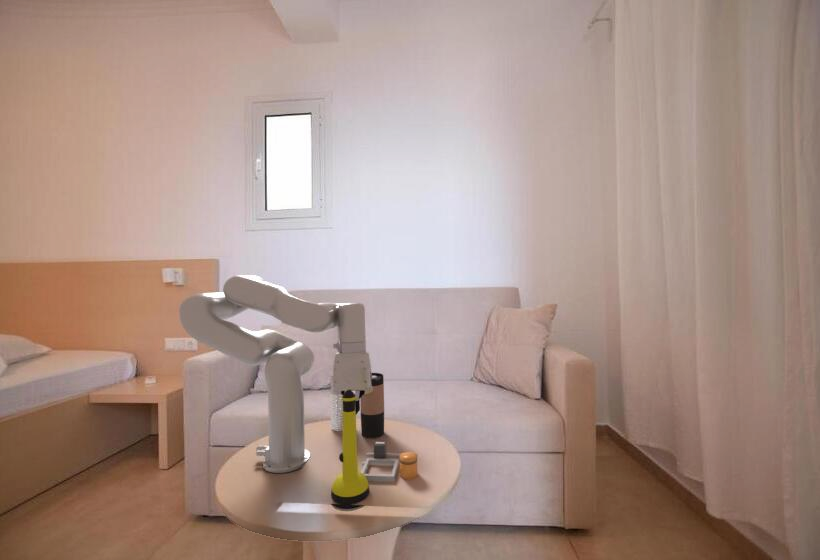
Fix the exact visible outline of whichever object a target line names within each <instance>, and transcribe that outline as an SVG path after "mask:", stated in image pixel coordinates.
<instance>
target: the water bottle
mask: <svg viewBox="0 0 820 560" xmlns="http://www.w3.org/2000/svg"><path fill="white" fill-rule="evenodd" d="M333 370H334V364H333V365H332V366H331V368H330V369H329V376H330V378H329V379H330V381H329V382H330V383H329V384H330V394H329V396H330V397H329V398H330V408H329V409H330V430H331V431H335V432H343V401H342V396H343V395H342V394H338V393H335V392H334V387H333Z"/></svg>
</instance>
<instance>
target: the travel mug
mask: <svg viewBox="0 0 820 560" xmlns="http://www.w3.org/2000/svg"><path fill="white" fill-rule="evenodd" d="M384 385H385V384H384V374H383V373H379V372H372V388H373V391H372V392H371V393H367V394H364V395H363V396H362V397H361V398H360V428H361V436H362V437H363V438H364V439H373V440H374V439H379V438H381V437H382V436H384V434H385V386H384Z"/></svg>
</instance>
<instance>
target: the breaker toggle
mask: <svg viewBox="0 0 820 560" xmlns="http://www.w3.org/2000/svg"><path fill="white" fill-rule="evenodd" d="M373 453H374V456H373V458H376V459H388V458H387V457H388V456H387V453H388V451H387V440H375V441H374V444H373Z"/></svg>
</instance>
